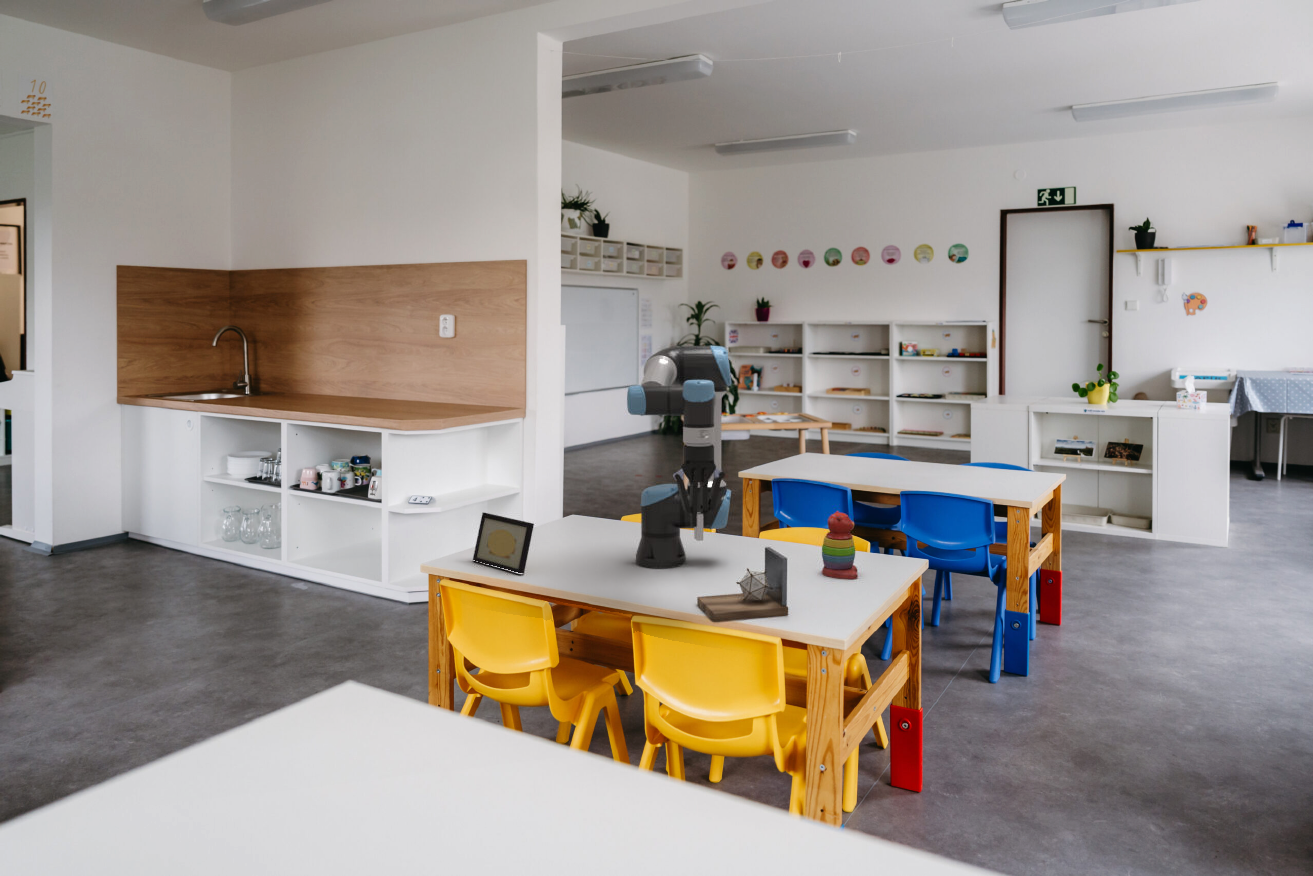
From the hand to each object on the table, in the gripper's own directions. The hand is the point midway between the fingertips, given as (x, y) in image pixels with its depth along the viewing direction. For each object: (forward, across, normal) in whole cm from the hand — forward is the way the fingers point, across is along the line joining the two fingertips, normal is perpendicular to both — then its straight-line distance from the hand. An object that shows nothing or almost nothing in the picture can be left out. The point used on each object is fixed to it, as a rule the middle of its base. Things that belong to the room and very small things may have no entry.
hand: (698, 539), depth 221 cm
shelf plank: (+19, +11, -1) cm, 22 cm away
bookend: (+17, +20, -1) cm, 26 cm away
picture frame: (+19, -42, +57) cm, 73 cm away
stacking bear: (+19, +49, +23) cm, 57 cm away
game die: (+17, +14, -1) cm, 22 cm away
